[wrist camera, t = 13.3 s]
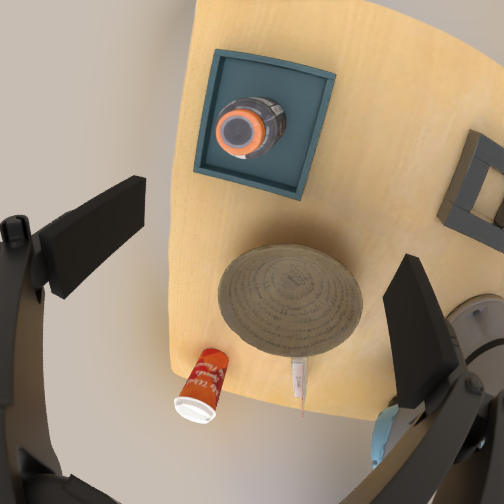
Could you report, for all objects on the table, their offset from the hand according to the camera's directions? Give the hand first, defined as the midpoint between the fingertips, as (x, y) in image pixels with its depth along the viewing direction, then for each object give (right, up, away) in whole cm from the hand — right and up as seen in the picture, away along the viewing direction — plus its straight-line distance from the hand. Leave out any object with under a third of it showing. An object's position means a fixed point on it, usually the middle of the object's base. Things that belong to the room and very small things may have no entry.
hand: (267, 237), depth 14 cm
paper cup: (-8, -22, +44) cm, 50 cm away
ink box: (+9, -21, +39) cm, 45 cm away
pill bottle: (0, +15, +19) cm, 24 cm away
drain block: (+31, +7, +16) cm, 36 cm away
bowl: (+6, -4, +30) cm, 31 cm away
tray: (+1, +15, +19) cm, 24 cm away
